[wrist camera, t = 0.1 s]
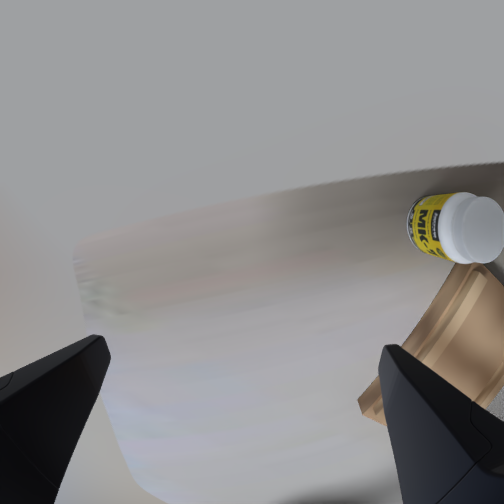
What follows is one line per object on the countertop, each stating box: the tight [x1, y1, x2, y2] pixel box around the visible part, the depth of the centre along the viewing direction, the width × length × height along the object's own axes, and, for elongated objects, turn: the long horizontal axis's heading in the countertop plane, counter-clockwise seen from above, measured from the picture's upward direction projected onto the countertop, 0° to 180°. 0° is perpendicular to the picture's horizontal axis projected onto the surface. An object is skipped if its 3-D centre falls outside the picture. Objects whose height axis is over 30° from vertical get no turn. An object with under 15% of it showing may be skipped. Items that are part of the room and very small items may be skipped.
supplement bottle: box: [407, 192, 504, 264], centre depth 18 cm, size 5×5×8 cm
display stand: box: [358, 262, 504, 426], centre depth 21 cm, size 16×12×4 cm
